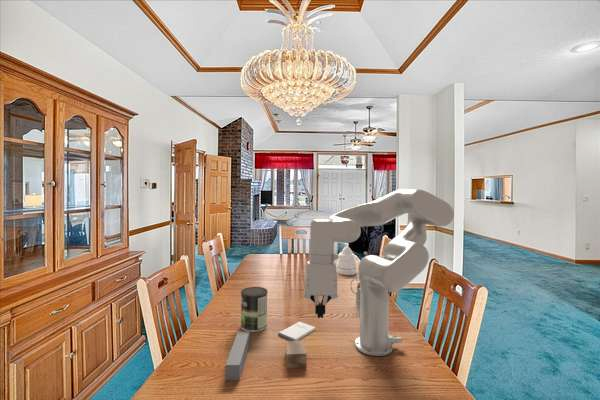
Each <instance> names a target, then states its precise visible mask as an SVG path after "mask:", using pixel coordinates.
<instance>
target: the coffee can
mask: <svg viewBox="0 0 600 400" xmlns="http://www.w3.org/2000/svg"><path fill="white" fill-rule="evenodd" d="M240 293H241V295H240V296H241V299H240V303H241V305H240V306H241V307H240V308H241V309H240V310H241V311H240V312H241V313H240V314H241V315H240V317H241V320H240V328H241V330H242V331H243V332H249V333H258V332H261V331H264V330H265V329H266V328H267V327H268V288H265V287H262V286H249V287H245V288H243V289H241V290H240Z"/></svg>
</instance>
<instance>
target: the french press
mask: <svg viewBox="0 0 600 400" xmlns="http://www.w3.org/2000/svg"><path fill="white" fill-rule="evenodd" d="M363 255H365V256H368V255H369V253H368V252H367V251H363ZM365 256H364V257H365ZM356 278H357V279H359V275H358V273H356V277H354V278H353V279H351V281H350V285H352V283H353V281H355V280H356ZM350 290H351V292H352V293H353V294H355V295H356V296H355V302H354V303H353V304H354V306H355V307H356V308H359V309H360V281H359V282H358V283H357V286H356V291H354V290H353V287H350Z"/></svg>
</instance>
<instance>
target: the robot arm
mask: <svg viewBox="0 0 600 400" xmlns="http://www.w3.org/2000/svg"><path fill="white" fill-rule="evenodd" d="M405 214H407V223H406V226H405V228H404V229H403V230H402V231H401V232H400V233H398V234H397V235H396V236H395V237H393V238H391V240H390V241H388V242H387V243H386V244H385V245H384V247H383V248H382V256H379V255H376V254H375V255H374V254H368V255H366V256H363V257H362V258H361V260H360V261H359V264H358V265H357V266H358V267H357V268H358V269H357V274H358V275H359V278H358V280H359V282H360V288H359V289H360V308H359V336H358V337H356V338H355V340H354V346H355V348H356V349H357V350H358V351H359V352H360V353H363V354H365V355H368V356H374V357H383V356H388V355H390V354H391V353H392V352H393V345H394V344H402V343H403V338H402V337H400V336H397V335H396V334H390V333H389V315H390V314H389V312H390V311H389V310H390V309H389V307H390V296H389V293H396V292H399V291H401V290H402V289H404V288H405V287H407V285H409V284H410V282H412V281H413V280H414V279H416V278H417V277H418V276H419V274H421V273H422V272H423V271H424V270H425V269H426V266H427V265H428V262H429V257H430V256H429V255H430V253H429V251H428V248H426V246H424V245H425V244H426V242H427V239H428V237H427V225H428V226H433V227H446V226H449V225H450V224H451V223H452V222H453V220H454V216H455V213H454V209H453V207H452V205H451V204H450V203H448V202H447V201H445V200H443V199H441V198H439V197H437V196H436V195H434V194H433V193H430V192H428V191H426V190H423V189H420V188H400V189H397V190H395V191H392V192H390V193H388V194H386V195H384V196H382V197H379V198H377V199H375V200H373V201H369V202H367V203H362V204H360V205H359V204H358V205H356V206H353V207H350V208H346V209H344V210H340V211H339V212H337V213H335V214H332V215H331V216H329V217H328V218H314V219H312V220H311V222H310V226H309V227H310V229H309V230H310V231H309V233H310V236H309V241H310V242H309V260H308V261H307V262H306V265H305V274H304V292H303V298H305V299H309V300H311V301H312V303H314V304H315V308H314V309H315V310H314V313H315V315H316V316H317V318H318V319H320V318H321V319H323V318H324V315H325V314H326V305H327V304H328V303H329V302H330V301H331V300H334V299H338V297H339V296H338V273H337V262H335V260H338V258H339V254H335V243H344V244H345V243H348V244H349V243H354V242H355V241H357V240H358V239H359V238H360V236H361V234H362V233H361V232H362V230H361V227H375V226H383V225H385V224H386V223H387V224H388V222H391V221H392V220H395V219H396V218H399V217H401V216H403V215H405ZM319 296H322V297H321V298H322V299H321V300H319Z"/></svg>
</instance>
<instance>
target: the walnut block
mask: <svg viewBox="0 0 600 400" xmlns="http://www.w3.org/2000/svg"><path fill="white" fill-rule="evenodd" d="M285 362H286V364H285V365H286V369H296V368H297V369H299V368H307V350H306V345H305V341H304V340H298V341H292V340H286V341H285Z"/></svg>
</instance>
